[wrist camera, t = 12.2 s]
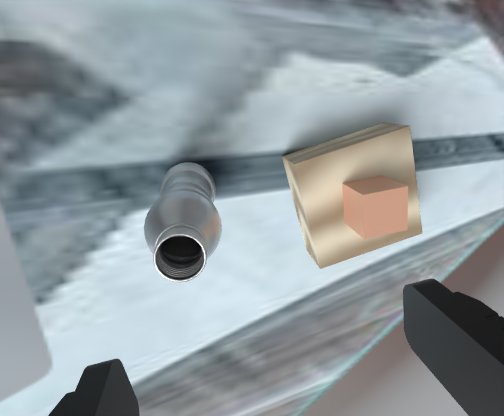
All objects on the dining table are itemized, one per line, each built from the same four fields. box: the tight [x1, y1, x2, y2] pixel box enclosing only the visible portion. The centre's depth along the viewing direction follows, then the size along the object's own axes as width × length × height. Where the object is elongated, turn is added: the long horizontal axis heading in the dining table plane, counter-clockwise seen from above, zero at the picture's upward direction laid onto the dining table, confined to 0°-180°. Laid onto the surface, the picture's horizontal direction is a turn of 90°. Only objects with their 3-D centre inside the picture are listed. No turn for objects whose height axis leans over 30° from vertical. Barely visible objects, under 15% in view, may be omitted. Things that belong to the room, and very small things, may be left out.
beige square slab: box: [282, 123, 422, 269], centre depth 42 cm, size 14×14×6 cm
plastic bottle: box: [144, 162, 222, 282], centre depth 31 cm, size 6×7×20 cm
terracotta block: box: [342, 176, 408, 239], centre depth 36 cm, size 5×5×5 cm
